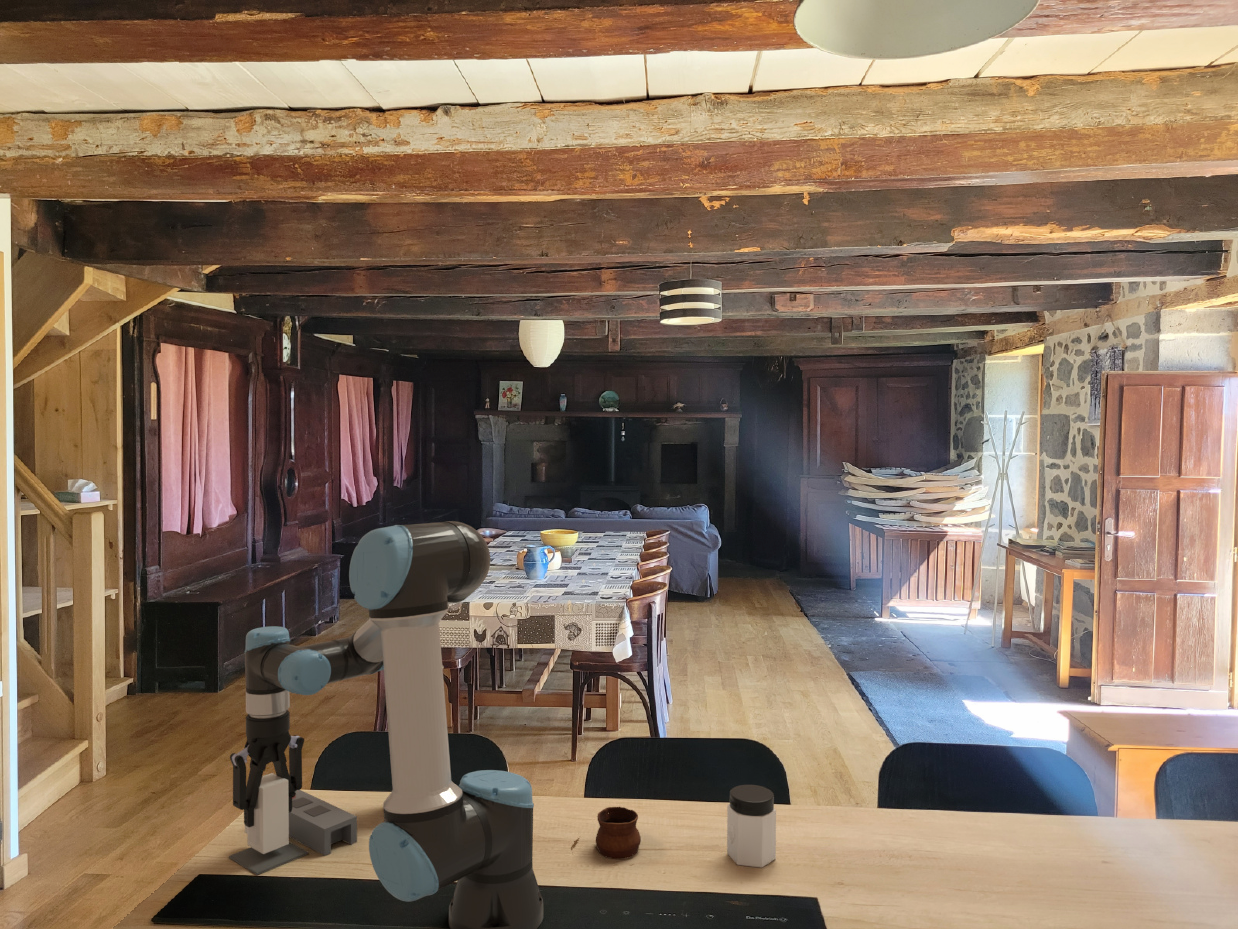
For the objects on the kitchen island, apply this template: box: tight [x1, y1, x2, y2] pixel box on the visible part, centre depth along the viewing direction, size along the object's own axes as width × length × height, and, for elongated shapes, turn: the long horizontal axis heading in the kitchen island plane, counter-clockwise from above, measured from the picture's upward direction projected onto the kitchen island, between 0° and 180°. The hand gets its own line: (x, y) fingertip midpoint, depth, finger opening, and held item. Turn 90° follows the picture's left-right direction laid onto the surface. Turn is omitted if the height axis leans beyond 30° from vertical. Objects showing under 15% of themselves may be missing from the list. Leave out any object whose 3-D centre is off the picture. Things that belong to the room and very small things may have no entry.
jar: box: [726, 784, 777, 869], centre depth 159 cm, size 9×8×12 cm
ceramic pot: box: [570, 806, 642, 860], centre depth 162 cm, size 18×18×7 cm
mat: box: [228, 841, 309, 876], centre depth 158 cm, size 10×10×1 cm
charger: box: [244, 772, 290, 854], centre depth 159 cm, size 8×5×12 cm, turn 52°
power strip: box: [289, 789, 358, 857], centre depth 167 cm, size 20×7×6 cm, turn 52°
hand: (268, 836), depth 158 cm, fingers closed on charger, 5 cm apart
